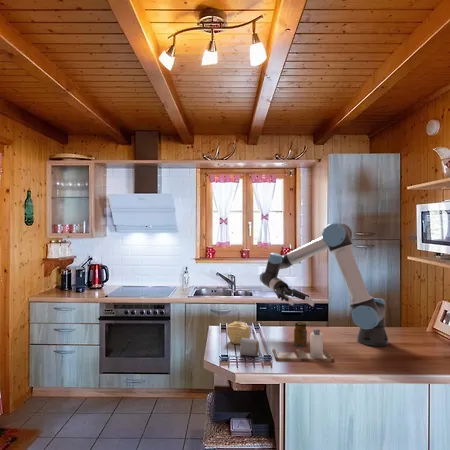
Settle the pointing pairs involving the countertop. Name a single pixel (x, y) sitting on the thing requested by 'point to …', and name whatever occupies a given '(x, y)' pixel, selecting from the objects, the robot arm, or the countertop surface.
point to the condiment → (300, 334)
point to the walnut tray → (301, 356)
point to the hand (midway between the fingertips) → (303, 303)
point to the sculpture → (238, 332)
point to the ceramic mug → (249, 347)
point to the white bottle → (316, 344)
